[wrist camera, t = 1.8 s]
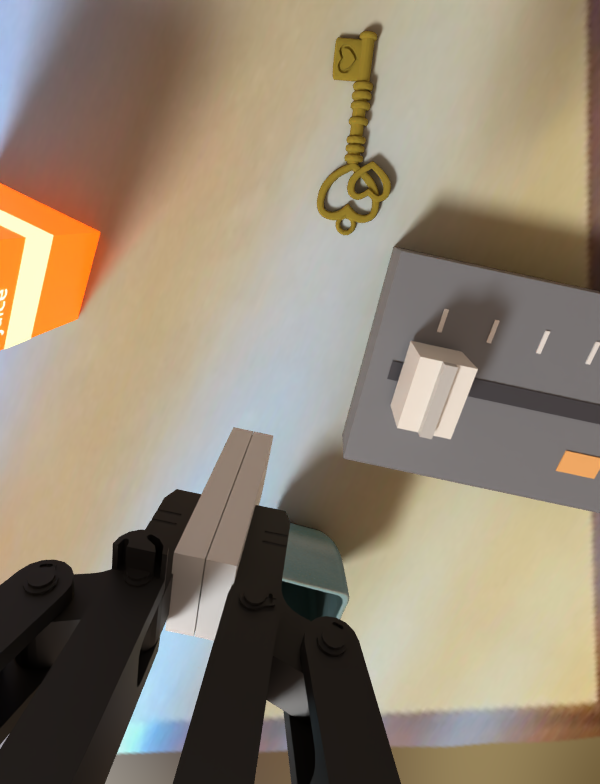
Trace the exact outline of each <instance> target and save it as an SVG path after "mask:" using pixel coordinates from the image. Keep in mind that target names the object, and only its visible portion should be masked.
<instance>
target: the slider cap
mask: <svg viewBox="0 0 600 784" xmlns="http://www.w3.org/2000/svg"><path fill="white" fill-rule="evenodd" d="M477 370H478V369H477V368H476V366H475V365H474V364H473V363H472V362H471V361H470V360H469V359H468V358H467V357H466V356H465V355H464V353H463V352H461V351H456V350H452V349H447V348H442V347H438V346H433V345H428V344H424V343H419V342H415V341H410V345H409V348H408V351H407V354H406V357H405V361H404V364H403V367H402V370H401V373H400V377H399V380H398V383H397V386H396V389H395V393H394V396H393V399H392V402H391V409H392V412H393V416H394V419H395V423H396V426H397V428H400V429H404V430H409V431H414V432H418V434H419V436H420V437H423V438H428V439H432V437H433V436H437V437H442V438H447V439H451V437H452V435H453V432H454V430H455V427H456V424H457V422H458V419H459V417H460V414H461V412H462V409H463V406H464V404H465V401H466V399H467V396H468V394H469V391H470V388H471V386H472V383H473V381H474V378H475V376H476V373H477Z"/></svg>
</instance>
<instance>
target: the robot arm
mask: <svg viewBox="0 0 600 784" xmlns="http://www.w3.org/2000/svg"><path fill="white" fill-rule="evenodd" d="M272 440H273V436H272V435H267V434H263V433H258V432H254V433H253V431H249V430H244V429H239V428H235V427H234V428H233V430H232V432H231V434H230V436H229V438H228V440H227V442H226V444H225V446H224V448H223V451H222V453H221V455H220V457H219V459H218V461H217V463H216V465H215V467H214V469H213V472H212V474H211V476H210V478H209V480H208V482H207V484H206V486H205V488H204V490H203V493H202V495H201V494H197V493H192V492H187V491H183V490H178V489H177V490H175V491H174V492H172V493H171V494H169V495H168V496H166V497H165V498H164V500H163V501H162V503H161V505H160V506H159V508H158V510H157V511H156V513H155V515H154V516H153V518H152V521H150V523H149V524H148V526H147V528H146V529H145V530H137V531H132V532H128V533H126V534H124V535H122V536H120V537H119V538H118V539H117V540H116V541H115V542H114V543H113V557H112V569H111V570H108V571H105V572H99V573H91V574H75V575H74V574H73V571H72V568H71V567H70V566H69V565H67V564H66V563H65V562H62V561H58V560H42V561H39V562H35V563H32V564H29V565H28V566H26V567H24V568H23V569H21V570H19V571H18V572H17V573H15V574H14V575H13V576H11V577H10V578H9V579H8V580H6V581H5V582H4V583H2V584H1V585H0V744H1V743H2V742H3V740H4V739H5V738H6V737H7V736H8V735H9V736H8V738H7V739H6V741H5V742H4V744H3V746H2V747H1V749H0V784H105V782H106V779H107V777H108V774H109V772H110V769H111V766H112V764H113V762H114V759H115V757H116V754H117V752H118V749H119V747H120V744H121V742H122V739H123V737H124V734H125V732H126V729H127V727H128V724H129V722H130V719H131V717H132V714H133V712H134V709H135V707H136V704H137V702H138V699H139V697H140V694H141V692H142V689H143V687H144V684H145V682H146V679H147V677H148V674H149V672H150V669H151V667H152V664H153V662H154V659H155V657H156V654H157V652H158V647H159V640H160V634H161V632H162V629H163V627H164V625H165V622H166V631H170V632H175V633H180V634H185V635H189V636H194V634H195V637H199V638H204V639H209V640H213V641H214V643H213V647H212V650H211V653H210V657H209V660H208V664H207V667H206V671H205V674H204V678H203V681H202V685H201V688H200V691H199V695H198V698H197V702H196V705H195V709H194V712H193V716H192V719H191V723H190V726H189V729H188V733H187V736H186V740H185V743H184V747H183V750H182V754H181V757H180V761H179V764H178V768H177V771H176V774H175V778H174V781H173V784H254V781H255V773H256V767H257V759H258V753H259V746H260V740H261V733H262V726H263V719H264V712H265V705H266V700H268V701H269V702H271V703H272V704H274V705H276V706H277V707H279V708H280V709H282V710H283V711H284V720H285V729H286V738H287V747H288V756H289V765H290V774H291V782H292V784H401V782H400V779H399V775H398V772H397V768H396V765H395V762H394V758H393V755H392V752H391V748H390V745H389V741H388V738H387V734H386V731H385V728H384V724H383V721H382V717H381V714H380V711H379V707H378V704H377V701H376V697H375V694H374V690H373V687H372V684H371V680H370V677H369V673H368V670H367V667H366V663H365V660H364V656H363V653H362V650H361V646H360V643H359V640H358V638H357V636H356V634H355V632H354V631H353V629H352V628H351V627H350V626H349V625H348V624H347V623H345V622H343V621H342V620H340V619H338V618H335V617H329V616H323V617H318V618H316V619H314V620H313V621H312V622H311V621H309V620H308V619H306V618H304V617H302V616H300V615H299V614H297V613H296V612H294V611H293V610H292V609H291V608H290V607H289V606H288V605H287V603H286V602H285V600H284V598H283V595H282V590H281V585H282V578H283V571H284V564H285V557H286V550H287V543H288V536H289V529H290V521H289V519H288V516H287V514H286V511H282V510H277V509H273V508H268V507H263V506H259V502H260V499H261V495H262V490H263V485H264V480H265V475H266V470H267V465H268V460H269V455H270V450H271V445H272ZM166 620H167V621H166ZM195 631H196V632H195Z"/></svg>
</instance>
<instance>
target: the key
mask: <svg viewBox="0 0 600 784" xmlns="http://www.w3.org/2000/svg"><path fill="white" fill-rule="evenodd" d="M359 37H360V39H352V38H340V37H338V38H337V40H336V44H335V53H334V63H333V79H334V80H345V81H356V82H355V83H354V85H353V88H354V90H355V92H353V94H352V98H353V100H354V101H353V102H352V103H351V108H352V109H353V114H352V117H351V118H350V119H349V124H350V125H351V131H350V136H348V137H347V142H348V143H349V144H348V145H347V146H346V151H348V154H347V155H345V161H347V165H345V166H343V167H341V168H339V169H337V170H336V171H334V172H333V173H332V174H331V175H329V176H328V177H327V178H326V180H325V181H324V183H323V184H322V186H321V188H320V190H319V193H318V198H317V208H318V211H319V213H320V214H321V215H322V216H323V217H325V218H326V219H330V220H336V229H337V231H338V232H339V233H340V234H342V235H349V234H351V233H352V232H353V231H354V230H355V227H356V222H358V223H365V222H368V221H371V220H372V219H374V218H375V217H376V215H377V212H378V210H379V203H380V202H381V201H384V200H385V199H386V198H387V197H388V196H389V194H390V190H391V183H390V180H389V178H388V176H387V175H386V173H385V172H384V171H383V170H382V169H381V168H380V167H379V166H378V165H377V164H376V163H375V162H374V161H372V162H370V163H368V164H366V165H365V166H363V167H360V166H359V165H358V164H359V162H360V163H361V162H362V161H363V156H361V155H360V153H363V152H364V150H365V148H364V146H362V145H363V144H365V142H366V139H365V137H362V136H363V128H364V126H367V125H368V119H366V118H365V113H366V111H368V110H369V109H370V103H369V102H367V101H370V100H371V98H372V94H371V93H370V92H371V91H372V90H373V84H372V83H370V74H371V66H372V58H373V51H374V42H375V41H376V40H377V34H376V33H375V32H372V31H364V32H362V33H361V34H360V36H359ZM361 144H362V145H361ZM371 169H372V170H373V171H374V172H376V174H377V175H378V176H379V178H380V179H381V181H382V183H383V192H382V194H381V195H379V192H378V188H377V185H376V184H375V182H374V180H373V178H372V177H371V176H370V175H369V174H368V173H367V171H369V170H371ZM352 170H353V171H354V172H355V173H354V174H353V175H352V176H351V177H350V179H349V182H348V186H347V190H348V194H349V195H350V197H352V198H353V199H356V200H359V199H362V198H364V197H366V196H369V197H370V198H371V199H372V209H371V212H370V213H369V214H366V215H362V214H358V213H357V212H355V211H354V210H353V209H352V208H351V206H350V205H349V204H346V205H345V206H344V207H343V208H341V209H340V210H338V211H334V212H331V211H327V210H326V209H325V208H324V200H325V196H326V193H327V191H328V189H329V188H330V186H331V185H332V184H333V182H334V181H336V180H337V179H338V178H339V177H340V176H342V175H344V174H346V173H348V172H350V171H352ZM360 177H361V178H362V179H363V180H364V181H365V183H366V184H367V186H368V189H367V190H365V191H364V192H362V193H359V194H358V193H356V192H355V184H356V182H357V180H358V179H359V178H360ZM345 218H346V219H349V220H350V221H351V227H350V228H349V229H348V230H343V229H342V228H341V225H340V223H341V221H342V220H343V219H345Z"/></svg>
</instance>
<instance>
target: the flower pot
mask: <svg viewBox="0 0 600 784" xmlns="http://www.w3.org/2000/svg"><path fill="white" fill-rule="evenodd" d="M281 590H282V595H283V598H284V600H285V602H286V603H287V605H288V606H289V607H290V608H291V609H292V610H293V611H294V612H296V613H297V614H299V615H300V616H302V617H304V618H306V619H308V620H309V621H311V622H312V621H313V620H314V619H316V618H318V617H323V616H329V617H335V618H338V619H341V616H342V614H343V612H344V610H345V608H346V606H347V604H348V601H349V593H348V588H347V582H346V577H345V572H344V567H343V562H342V558H341V555H340V552H339V550H338V548H337V547H336V545H335V543H334V542H333V541H332V540H331V539H330V538H329V537H328V536H327V535H325V534H324V533H323V532H321V531H318V530H315V529H311V528H307V527H303V526H299V525H296V524H292V523H290V529H289V536H288V543H287V550H286V557H285V564H284V571H283V578H282V585H281Z"/></svg>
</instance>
